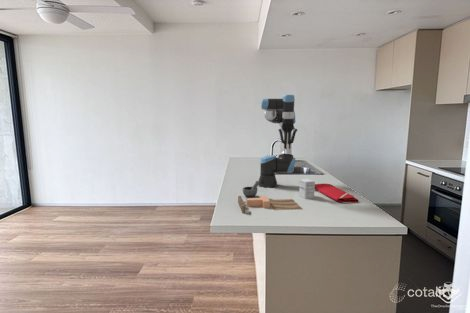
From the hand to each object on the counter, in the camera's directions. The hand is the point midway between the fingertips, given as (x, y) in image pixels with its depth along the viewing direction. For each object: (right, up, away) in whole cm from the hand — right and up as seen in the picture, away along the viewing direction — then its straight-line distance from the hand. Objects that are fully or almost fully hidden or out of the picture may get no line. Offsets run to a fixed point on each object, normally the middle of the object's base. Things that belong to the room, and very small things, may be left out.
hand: (286, 153), depth 197 cm
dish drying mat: (+34, -29, +10) cm, 46 cm away
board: (-14, -33, -19) cm, 40 cm away
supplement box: (+13, -30, -2) cm, 33 cm away
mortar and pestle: (-24, -30, -2) cm, 39 cm away
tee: (-22, -32, -20) cm, 43 cm away
